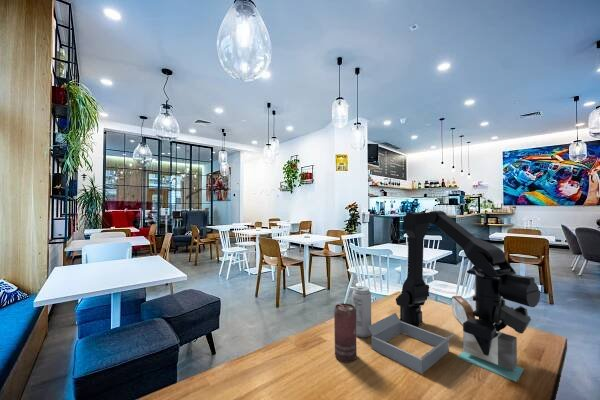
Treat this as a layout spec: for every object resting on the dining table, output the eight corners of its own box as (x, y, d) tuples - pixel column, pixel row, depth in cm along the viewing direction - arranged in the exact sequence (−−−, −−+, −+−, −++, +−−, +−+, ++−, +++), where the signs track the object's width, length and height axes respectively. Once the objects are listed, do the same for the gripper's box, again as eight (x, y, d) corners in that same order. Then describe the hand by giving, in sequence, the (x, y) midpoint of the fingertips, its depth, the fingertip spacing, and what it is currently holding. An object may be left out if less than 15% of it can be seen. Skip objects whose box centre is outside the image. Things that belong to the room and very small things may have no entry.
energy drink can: (374, 336, 86) (374, 290, 86) (357, 339, 84) (357, 292, 84) (366, 328, 91) (365, 284, 92) (349, 330, 90) (349, 286, 90)
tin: (476, 333, 87) (476, 307, 87) (466, 332, 88) (465, 307, 88) (459, 314, 102) (458, 292, 102) (450, 313, 103) (449, 292, 103)
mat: (457, 357, 74) (457, 356, 74) (467, 348, 78) (467, 347, 78) (516, 381, 64) (516, 380, 64) (523, 370, 68) (523, 368, 68)
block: (463, 351, 74) (463, 326, 74) (468, 346, 77) (468, 322, 77) (512, 370, 66) (512, 342, 66) (516, 364, 68) (516, 337, 68)
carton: (366, 346, 80) (366, 326, 80) (395, 329, 90) (395, 312, 90) (428, 377, 66) (428, 353, 66) (455, 353, 76) (455, 332, 76)
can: (342, 347, 79) (341, 300, 80) (360, 356, 75) (360, 306, 75) (329, 355, 75) (329, 306, 75) (348, 365, 71) (347, 312, 71)
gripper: (516, 312, 59) (517, 383, 59) (535, 293, 71) (536, 352, 71) (461, 298, 68) (462, 360, 68) (486, 284, 79) (486, 336, 79)
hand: (488, 352), depth 71 cm, fingers closed on block, 4 cm apart
